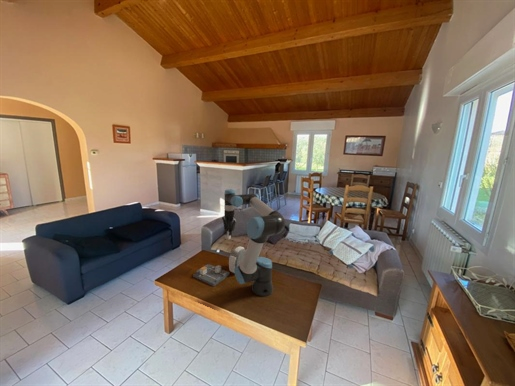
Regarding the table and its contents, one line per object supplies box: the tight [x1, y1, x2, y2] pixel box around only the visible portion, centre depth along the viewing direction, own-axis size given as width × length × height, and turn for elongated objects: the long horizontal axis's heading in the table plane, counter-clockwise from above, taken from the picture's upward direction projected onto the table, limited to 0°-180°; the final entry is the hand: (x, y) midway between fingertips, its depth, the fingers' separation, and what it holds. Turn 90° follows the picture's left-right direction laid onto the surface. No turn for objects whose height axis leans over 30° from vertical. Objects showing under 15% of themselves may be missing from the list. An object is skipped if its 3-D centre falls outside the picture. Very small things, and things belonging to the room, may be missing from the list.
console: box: [192, 264, 231, 287], centre depth 169 cm, size 21×18×4 cm
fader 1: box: [199, 265, 207, 275], centre depth 167 cm, size 3×4×4 cm
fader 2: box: [215, 264, 222, 273], centre depth 170 cm, size 3×4×4 cm
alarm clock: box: [228, 246, 246, 274], centre depth 176 cm, size 18×8×20 cm, turn 144°
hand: (229, 238), depth 170 cm, fingers closed
